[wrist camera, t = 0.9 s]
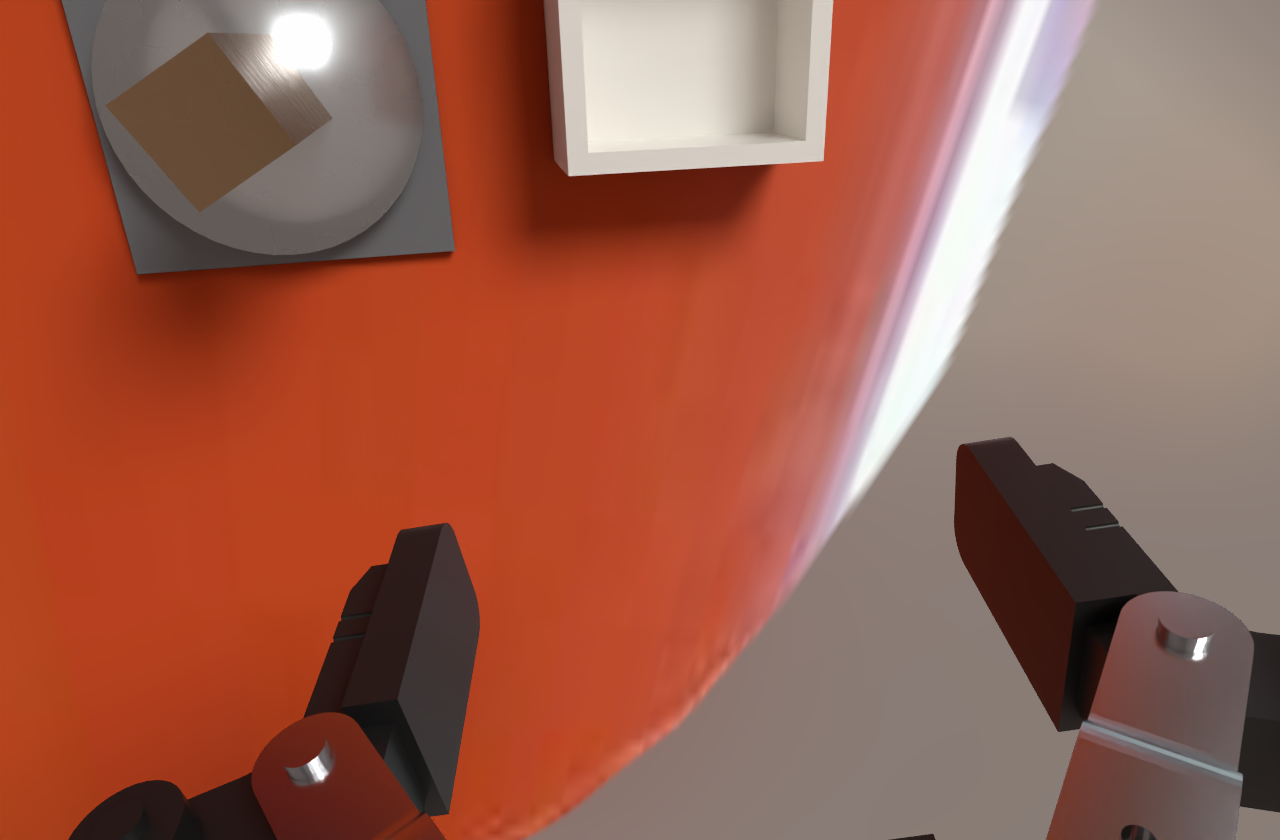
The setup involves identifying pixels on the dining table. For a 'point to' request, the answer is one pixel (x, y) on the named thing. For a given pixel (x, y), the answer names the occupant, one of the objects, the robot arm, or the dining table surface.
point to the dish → (686, 83)
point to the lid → (260, 114)
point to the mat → (400, 231)
